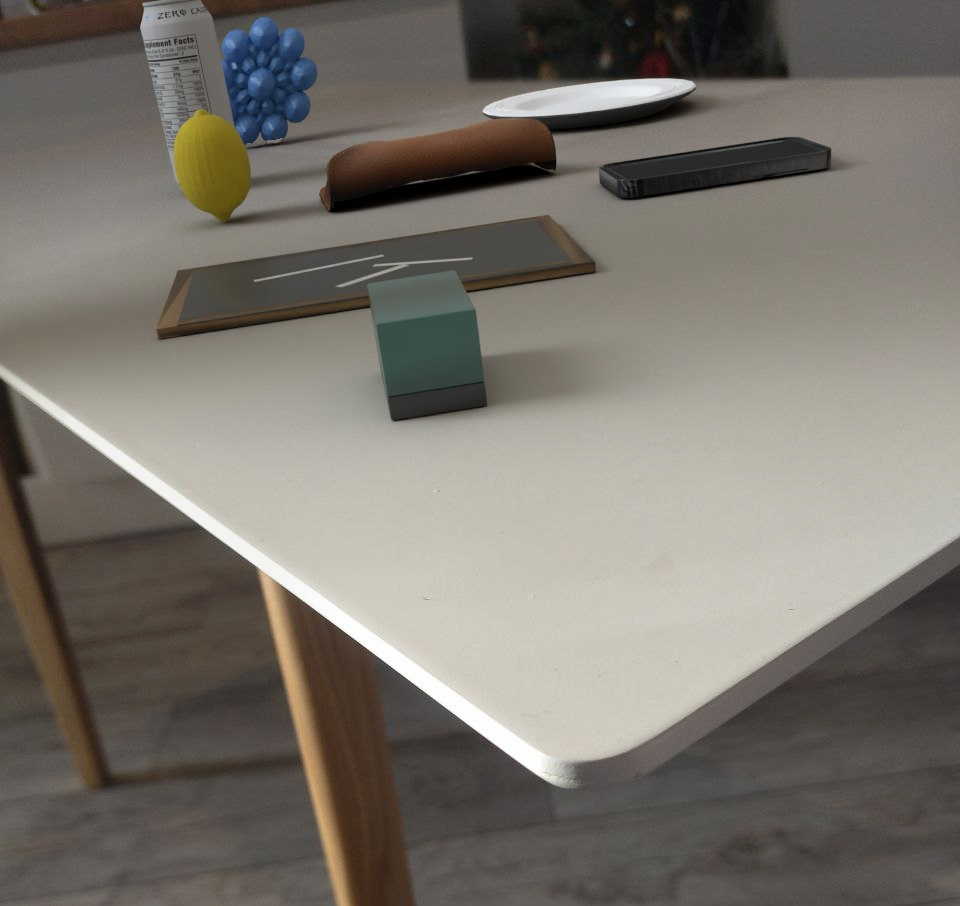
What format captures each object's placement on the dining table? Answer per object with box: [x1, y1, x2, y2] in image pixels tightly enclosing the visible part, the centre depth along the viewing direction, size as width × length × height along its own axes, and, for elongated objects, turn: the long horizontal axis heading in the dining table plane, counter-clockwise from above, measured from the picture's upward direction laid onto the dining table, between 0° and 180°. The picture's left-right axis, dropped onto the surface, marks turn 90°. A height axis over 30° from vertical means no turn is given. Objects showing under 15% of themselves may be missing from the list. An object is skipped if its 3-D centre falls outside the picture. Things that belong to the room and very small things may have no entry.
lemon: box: [174, 109, 252, 222], centre depth 92 cm, size 6×6×8 cm
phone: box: [598, 136, 832, 199], centre depth 86 cm, size 8×1×15 cm
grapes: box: [221, 16, 318, 144], centre depth 127 cm, size 12×7×12 cm, turn 95°
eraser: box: [367, 270, 488, 421], centre depth 52 cm, size 7×4×4 cm, turn 8°
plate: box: [482, 77, 697, 130], centre depth 119 cm, size 21×21×2 cm
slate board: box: [155, 214, 597, 340], centre depth 72 cm, size 24×14×1 cm, turn 98°
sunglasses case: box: [318, 118, 557, 212], centre depth 95 cm, size 18×7×7 cm
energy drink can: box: [139, 0, 235, 186], centre depth 105 cm, size 6×6×15 cm
